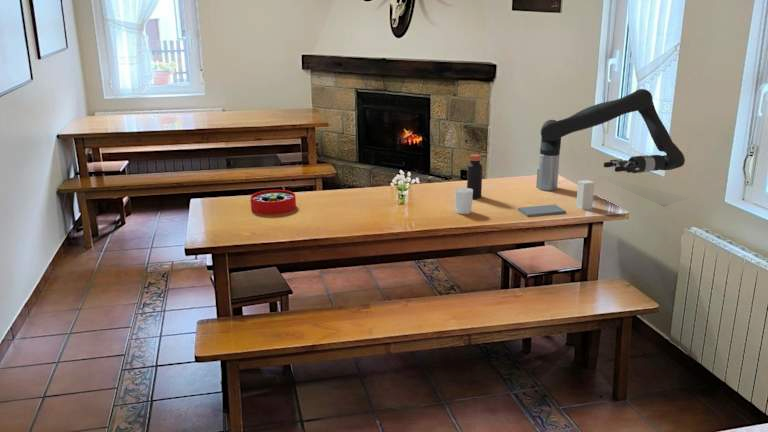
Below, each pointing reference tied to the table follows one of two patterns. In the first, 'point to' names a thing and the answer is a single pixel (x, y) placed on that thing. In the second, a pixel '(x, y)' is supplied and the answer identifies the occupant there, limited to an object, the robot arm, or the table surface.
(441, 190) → the table surface
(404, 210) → the table surface
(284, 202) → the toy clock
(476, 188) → the bottle
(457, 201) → the white cup
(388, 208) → the table surface
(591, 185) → the block
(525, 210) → the mat
